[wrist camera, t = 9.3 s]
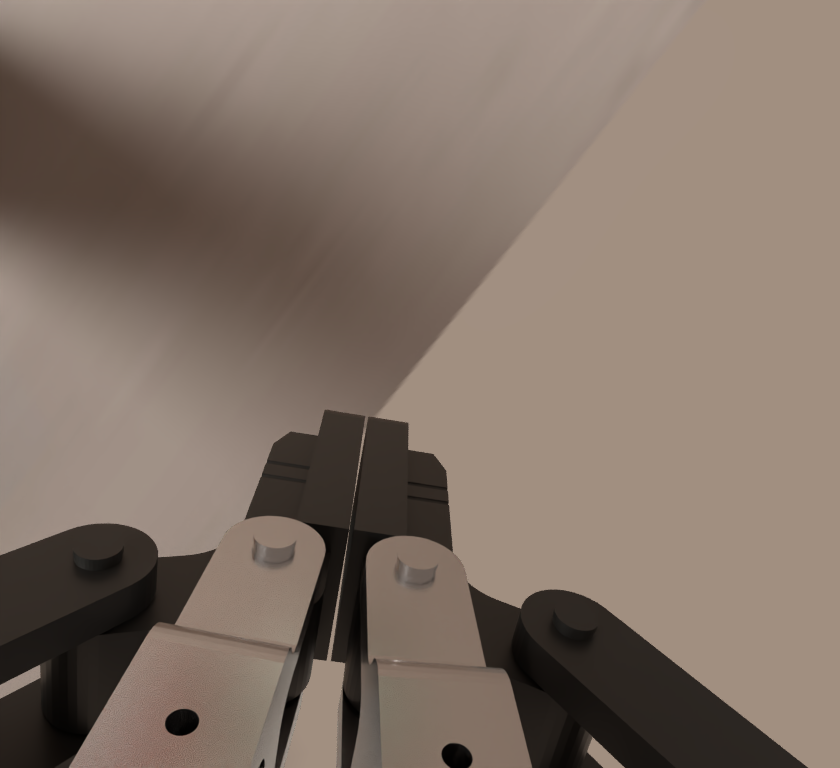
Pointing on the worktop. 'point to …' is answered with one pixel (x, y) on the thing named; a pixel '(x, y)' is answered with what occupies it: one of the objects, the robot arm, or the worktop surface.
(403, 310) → the worktop surface
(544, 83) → the worktop surface
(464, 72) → the worktop surface
